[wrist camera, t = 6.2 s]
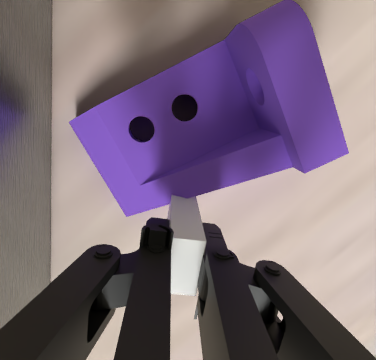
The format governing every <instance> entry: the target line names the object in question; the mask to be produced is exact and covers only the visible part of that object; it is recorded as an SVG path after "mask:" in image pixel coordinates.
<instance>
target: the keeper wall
mask: <svg viewBox="0 0 376 360" xmlns="http://www.w3.org/2000/svg"><path fill="white" fill-rule="evenodd" d="M51 65H52V0H0V329H1V328H2V327H3V326H4V325H5V324H6V323H7V322H8V321H10V320H11V319H12V318H13V317H14V316H15V315H16V314H17V313H18V312H19V311H21V310H22V309H23V308H24V307H25V306H26V305H27V304H28V303H29V302H30V301H32V300H33V299H34V298H35V297H36V296H37V295H38V294H39V293H40V292H41V291H42V290H44V289H45V288H46V287H47V286H48V285H49V284H50V219H51Z"/></svg>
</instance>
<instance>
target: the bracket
mask: <svg viewBox="0 0 376 360" xmlns="http://www.w3.org/2000/svg"><path fill="white" fill-rule="evenodd" d="M182 94H188V95H190V96H192V97H193V98H194V99H195V100H196V102H197V105H198V111H197V114H196V116H195V117H194V118H193V119H191V120H190V121H180V120H178V119H177V118H175V116H174V115H173V113H172V103H173V101H174V99H175V98H176V97H177V96H179V95H182ZM138 116H144V117H147V118H149V119H150V120H151V121H152V123H153V124H154V128H155V132H154V135H153V137H152V138H151V139H150V140H149V141H147V142H142V141H139V140H137V139H136V138H135V137H134V136H133V135H132V133H131V131H130V127H129V124H130V122H131V121H132V120H133V119H134V118H135V117H138ZM69 123H70V125H71V127H72V128H73V130H74V132H75V133H76V135H77V136H78V138H79V140H80V141H81V143H82V145H83V146H84V148H85V150H86V151H87V153H88V155H89V156H90V158H91V159H92V161H93V163H94V164H95V166H96V168H97V169H98V171H99V173H100V174H101V176H102V177H103V179H104V181H105V182H106V184H107V186H108V187H109V189H110V191H111V192H112V194H113V195H114V197H115V199H116V200H117V202H118V204H119V205H120V207H121V209H122V210H123V212H124V214H125V215H126V217H127V216H131V215H134V214H137V213H141V212H144V211H147V210H151V209H154V208H157V207H161V206H164V205H168V204H170V202H171V196H172V195H175V196H179V197H183V198H187V199H188V198H191V197H194V196H198V195H201V194H204V193H208V192H211V191H214V190H218V189H221V188H225V187H228V186H231V185H235V184H238V183H241V182H245V181H248V180H251V179H255V178H258V177H261V176H265V175H268V174H271V173H275V172H278V171H282V170H285V169H288V168H292V167H294V168H296V169H297V170H299V171H301V172H303V173H307V172H309V171H311V170H313V169H315V168H318V167H320V166H322V165H324V164H326V163H328V162H331V161H333V160H335V159H337V158H339V157H341V156H344V155H346V154H348V153H349V152H348V148H347V145H346V141H345V138H344V134H343V131H342V128H341V124H340V121H339V117H338V114H337V110H336V107H335V104H334V100H333V97H332V93H331V90H330V86H329V83H328V80H327V76H326V73H325V69H324V66H323V63H322V59H321V56H320V52H319V49H318V45H317V42H316V39H315V35H314V32H313V29H312V26H311V23H310V21H309V19H308V17H307V15H306V14H305V12H304V11H303V9H302V8H301V7H300V6H299V5H298V4H297V3H296V2H294V1H292V0H283V1H281V2H279V3H277V4H275V5H273V6H271V7H270V8H268V9H266V10H264V11H262V12H260V13H258V14H256V15H254V16H252V17H250V18H248V19H246V20H244V21H243V22H241V23H239V24H237V25H236V26H235V28H234V29H233V30H232V31H231V32H230V34H229V35H228V36H227V37H226V38H225V40H223V41H221V42H219V43H217V44H215V45H213V46H211V47H209V48H207V49H205V50H203V51H202V52H200V53H198V54H196V55H194V56H192V57H190V58H188V59H186V60H184V61H182V62H180V63H178V64H176V65H174V66H172V67H171V68H169V69H167V70H165V71H163V72H161V73H159V74H157V75H155V76H153V77H151V78H149V79H147V80H145V81H143V82H142V83H140V84H138V85H136V86H134V87H132V88H130V89H128V90H126V91H124V92H122V93H120V94H118V95H116V96H114V97H112V98H111V99H109V100H107V101H105V102H103V103H101V104H99V105H97V106H95V107H93V108H92V109H90V110H88V111H87V112H85V113H83V114H81V115H80V116H78V117H76V118H75V119H73V120H71V121H70V122H69Z"/></svg>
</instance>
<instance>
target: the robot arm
mask: <svg viewBox="0 0 376 360" xmlns="http://www.w3.org/2000/svg"><path fill="white" fill-rule="evenodd" d="M197 288H198V291H199V296H198V301H197V306H196V311H195V316H194V319H197V315H198V319H199V327H200V336H201V345H202V354H203V360H376V358H375V357H374V356H373V355H372V354H371V353H370V352H369V351H368V350H367V349H366V348H365V347H364V346H363V345H362V344H361V343H360V342H359V341H358V340H357V339H356V338H355V337H354V336H353V335H352V334H351V333H350V332H349V331H348V330H347V329H346V328H345V327H344V326H343V325H342V324H341V323H340V322H339V321H338V320H337V319H336V318H335V317H334V316H333V315H332V314H331V313H330V312H329V311H328V310H327V309H326V308H324V307H323V306H322V305H321V304H320V303H319V302H318V301H317V300H316V299H315V298H314V297H313V296H312V295H311V294H310V293H309V292H308V291H307V290H306V289H305V288H304V287H303V286H302V285H301V284H300V283H299V282H298V281H297V280H296V279H295V278H294V277H293V276H292V275H291V274H290V273H289V272H288V271H287V270H286V269H285V268H284V267H282V266H281V265H279V264H277V263H276V262H273V261H266V260H262V261H259V262H257V263H256V267H255V268H253V267H250V266H246V265H243V264H241V263H239V261H238V258H237V256H236V255H235V254H234V253H233V252H232V251H230V250H228V249H227V246H226V243H225V241H224V239H223V235H222V232H221V230H220V228H219V227H218V226H216V225H215V224H210V223H202V221H201V216H200V212H199V208H198V204H197V199H196V196H194V197H191V198H188V199H187V198H183V197H179V196H175V195H172V196H171V202H170V204H169V211H168V218H167V219H161V218H152V217H151V218H150V219H149V220H148V221H147V222H146V225H145V226H143V228H142V230H141V239H140V247H139V249H138V250H137V251H135V252H132V253H128V254H121V253H120V250H119V249H118V248H117V247H114V246H112V245H106V244H103V245H102V244H101V245H96V246H93V247H91V248H89V249H87V250H86V251H85V252H84V253H83V254H82V255H81V256H80V257H79V258H78V259H76V260H75V261H74V262H73V263H72V264H71V265H70V266H69V267H68V268H67V269H65V270H64V271H63V272H62V273H61V274H60V275H59V276H58V277H57V278H56V279H55V280H53V281H52V282H51V283H50V284H49V285H48V286H47V287H46V288H45V289H44V290H42V291H41V292H40V293H39V294H38V295H37V296H36V297H35V298H34V299H33V300H32V301H30V302H29V303H28V304H27V305H26V306H25V307H24V308H23V309H22V310H21V311H19V312H18V313H17V314H16V315H15V316H14V317H13V318H12V319H11V320H10V321H8V322H7V323H6V324H5V325H4V326H3V327H2V328H1V329H0V360H86V359H87V357H88V355H89V354H90V352H91V350H92V349H93V347H94V345H95V344H96V342H97V341H98V339H99V337H100V336H101V334H102V332H103V331H104V329H105V328H106V326H107V324H108V323H109V321H110V319H111V318H112V316H113V315H114V312H115V309H116V308H118V307H124V306H126V308H125V313H124V317H123V321H122V326H121V330H120V335H119V339H118V343H117V348H116V352H115V356H114V360H170V312H171V294H179V295H190V296H196V293H197ZM278 310H279V311H280V313H281V314H282V316H283V320H282V321H281V320H280V319H279V318H278V316H277V314H278Z"/></svg>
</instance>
